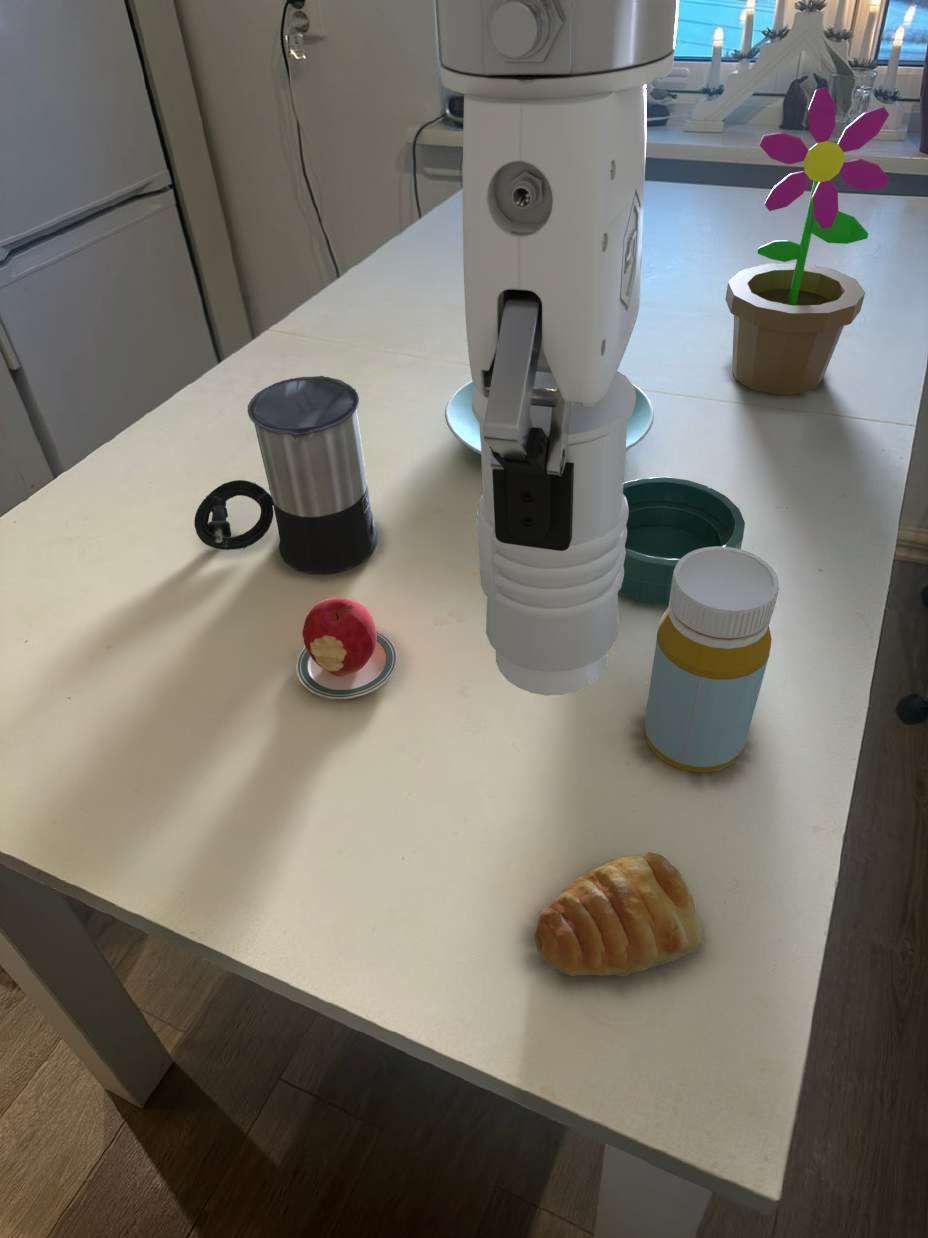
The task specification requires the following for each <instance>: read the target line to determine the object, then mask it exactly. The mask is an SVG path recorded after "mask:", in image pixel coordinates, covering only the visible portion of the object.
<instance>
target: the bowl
mask: <svg viewBox="0 0 928 1238" xmlns="http://www.w3.org/2000/svg"><path fill="white" fill-rule="evenodd" d="M623 494H624V496H625V497H626V499H627V504H628V508H629V515H628V520H627V524H626V527H627V538H626V542H625V550H626V554H625V560H624V564H623V567H624V577H623V581H622V586H621V589H620V590H619V591H618V593H619V594H621V595H624V596H626V597H629V598H631V599H634V600H636V601H639V602H643V603H648V604H653V605H661V606H669V600H670V592H671V585H672V578H673V572H674V569H675V568H676V565H677V563H678V562H679V560H680V559H681V558H682V557H683V556H685V555H686V554H688V553H690V552H692V551H694V550H697V549H701V548H705V547H715V546H721V547H731V548H737V549H741V550H742V544H743V539H744V535H745V526H746V521H745V519H744V517H743V515H742V512H741V509H740V508H739V507H738V506H737V505H736V504H735V503H734V502H733V501H732V500H731V499H730V498H729V497H728V496H727V495H725V494H723V493H721V492H719V491H717V490H716V489H714V488H712V487H710V486H708V485H706V484H703V483H702V484H701V483H699V482H696V481H694V480H693V481H692V480H689V479H683V478H675V477H668V476H660V477H659V476H657V477H642V478H637V479H634V480H629V481H625V482H623Z"/></svg>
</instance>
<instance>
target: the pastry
mask: <svg viewBox="0 0 928 1238" xmlns="http://www.w3.org/2000/svg"><path fill="white" fill-rule="evenodd" d="M534 944H535V947H536V950H537V952H538V954H539V955H540V957H541V958H542V959H543V960H544V961H545V962H546V963H547V964H548V965H550V966H551V967H552V968H554V969H556V970H557V971H559V972H560V973H562V974H567V975H568V976H570V977H576V976H587V977H588V976H591V975H594V976H595V975H596V976H600V977H601V976H602V977H606V976H613V977H614V976H616V977H628V976H630V975H632V974H635V973H640V972H643V971H647V970H648V969H654V968H656V967H657V966H661V965H664V964H666V963H671V962H673V961H677V960H680V959H681V958H682V957H684V956H685V955H688V954H691V953H694V952H695V953H696V952H697V951H699V950H700V949H701V947H702V946H703V944H704V933H703V927H702V922H701V919H700V916H699V915H698V913H697V910H696V905H695V900H694V898H693V895H692V893H691V891H690V889H689V888H688V885H687V883H686V881H685V880H684V878H683V876H682V874H681V872H680V871H679V868H677V867H676V866H675V865H673V864H672V863H671V861H670V860H669V859H668V858H666V857H665V856H664V855H662V854H661V853H658V852H652V851H648V852H647V853H645V854H642V855H635V856H626V857H619V858H614V859H611V860H609V861H608V862H606V863H604V864H602V865H600V866H599V867H595V868H593V869H590V870H589V871H587V872H586V873H585V874H583V875H582V876H579V877H577V878H575V880H574V881H573V882H572V883H571V884H569V885H568V886H567V887H565V888H564V889H563V891H562V892H561V894H560V895H558V896H557V898H556V899H555V900H553V901H552V902H551V903H550V904H548V905H547V906H545V907H544V908H543V909H542V911H541V913H540V915H539V919H538V922H537V926H536V931H535V932H534Z"/></svg>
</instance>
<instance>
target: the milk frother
mask: <svg viewBox="0 0 928 1238" xmlns="http://www.w3.org/2000/svg"><path fill="white" fill-rule="evenodd" d="M359 405H360V396H359V393H358V392H357V390H356V388H354V387H353V386H352V385H350V384H349V383H347V382H345V381H343V380H341V379H338V378H334V377H330V376H324V375H318V376H317V375H315V376H298V377H294V378H293V377H292V378H288V379H284V380H281V381H278V382H274V383H273V384H271V385H268V386H267V387H265V388H263V389H261V390H260V391H258V392H257V393H256V394H255V395H253V397H252V398H251V399H250V401H249V403H248V404H247V415H248V418H249V420H250V421H251V422H252V423H253V424H254V428H255V433H256V439H257V441H258V447H259V451H260V455H261V459H262V463H263V467H264V471H265V476H266V480H267V484H268V488H269V492H268V491H267V490H266V489H265V488H264V487H263V486H261V485H260V484H257V483H256V482H253V481H251V480H250V481H249V480H245V479H236V480H230V481H227V482H224V483H222V484H221V485H219V486H217V487H216V488H214V489H213V490H212V491H210V492H209V494H207V495H206V496H205V498H204V499H202V502H201V503H200V504H199V505H198V507H197V509H196V512H195V515H194V523H193V524H194V529H195V532H196V535H197V536H198V538H199V540H200V541H201V542H202V543H203V544H205V545H206V546H208V547H210V548H212V549H217V550H223V551H224V550H226V551H228V550H229V551H230V550H240V549H244V548H247V547H250V546H252V545H254V544H255V543H256V542H258V541H260V540H261V539H262V538H263V537H264V536H266V535H265V534H266V533H267V532H268V531H269V529H270V527H271V525H272V523H273V519H274V516H275V520H276V526H277V531H278V536H279V542H278V551H279V554H280V557H281V558H282V560H283V561H284V562H285V563H286V564H287V565H288V566H290V567H291V568H293V569H294V570H296V571H299V572H303V573H307V574H313V575H314V574H315V575H316V574H317V575H327V574H328V575H329V574H335V573H341V572H344V571H347V570H350V569H352V568H355V567H356V566H358V565H360V564H361V563H363V562H365V561H366V560H367V559H369V558H370V557H371V555H372V554H373V553H374V551H375V550H376V548H377V546H378V542H379V533H378V530H377V528H376V525H375V520H374V515H373V512H372V508H371V501H370V491H369V486H368V481H367V473H366V472H367V471H366V464H365V458H364V457H365V456H364V451H363V444H362V436H361V430H360V424H359V417H358V407H359ZM238 496H241V497H247V498H249V499H252V500H253V501H255V502H256V503H257V504H258V506H259V508H260V515H259V518H258V520H257V522H256V523H255V524H254V525H253V526H252V527H251V528H250V529H249V530H247V531H245V532H244V533H241V534H238V535H235V536H232V530H231V524H230V522H229V521H227V518H228V517H229V513H228V509H227V501H228V500H230V499H233V498H235V497H238ZM211 513H212V514H211ZM210 514H211V515H210ZM210 516H211V521H210Z"/></svg>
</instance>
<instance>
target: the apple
mask: <svg viewBox="0 0 928 1238" xmlns="http://www.w3.org/2000/svg"><path fill="white" fill-rule="evenodd" d="M301 634H302V639H303V644H304V647H303V648H302V650H301V651H300V653H299V654H298V657H297V660H296V663H295V665H296V666H295V669H296V675H297V678H298V681H299V682H300V683H301V685H302V686H303V687H304V688H305V689H306V690H308V691H309V692H311V693H312V694H314V695H316V696H318V697H322V698H326V699H331V700H350V699H355V698H359V697H363V696H366V695H368V694H371V693H373V692H374V691H377V689H379V688H381V687H382V686H383V685H384V684H386V683H388V681H389V680H390V679H391V677H392V676H393V675H394V673H395V670H396V668H397V666H398V650H397V648H396V645H395V644H394V642H393V641H392V640H391V639H390V638H389V637H388V636H386V635H385V634H384V633H382V632H380V631H378V630H377V627H376V624H375V622H374V619H373V617H372V614H371V612H370V611H369V609H367V608H366V607H365V606H364V605H363V604H362V603H360V602H359V601H357V600H355V599H352V598H348V597H329V598H326V599H323V600H321V601H319V602H317V603H316V604H314V606H313V607H312V608H311V609H310V610H309V612H308V614H307V615H306V617H305V620H304V623H303V627H302V632H301Z"/></svg>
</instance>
